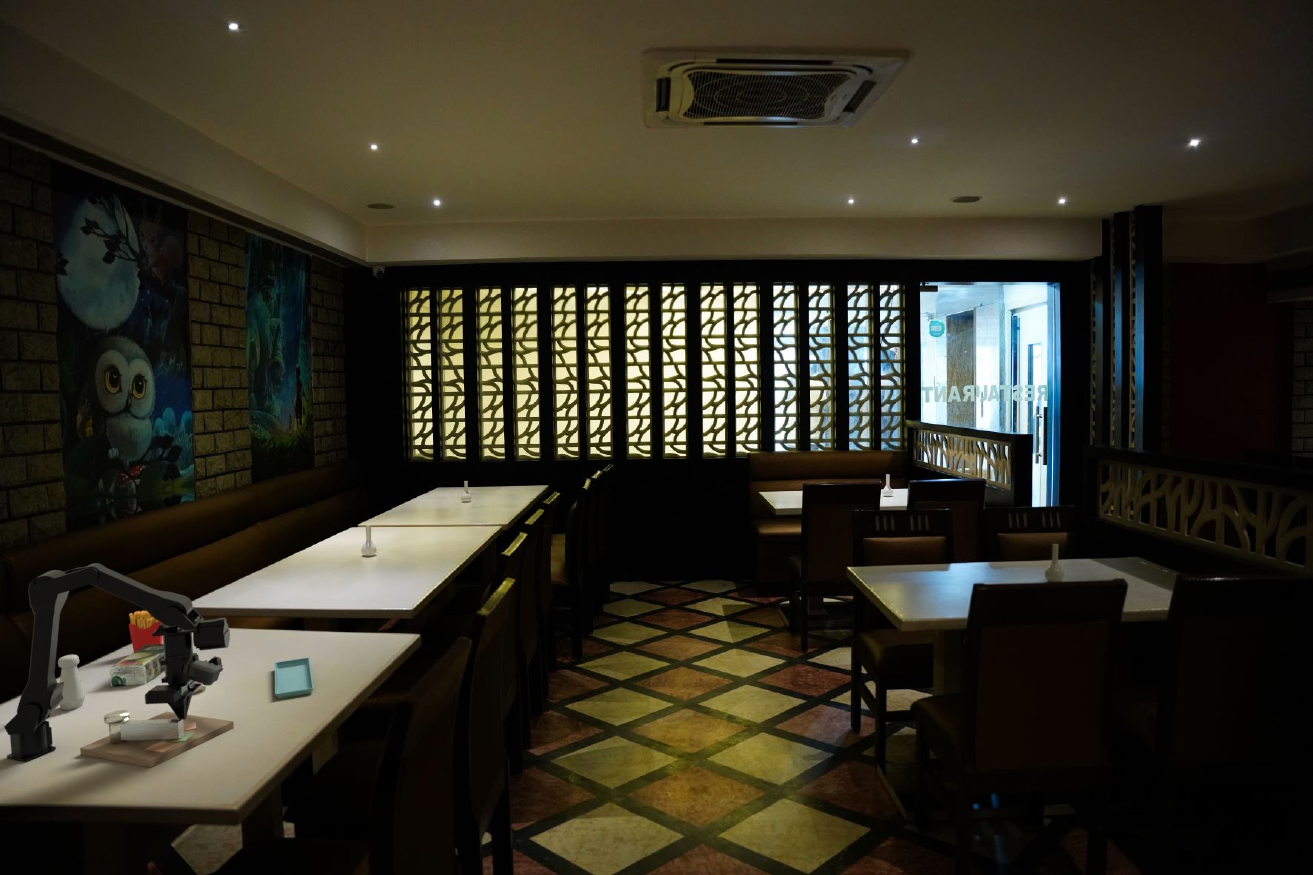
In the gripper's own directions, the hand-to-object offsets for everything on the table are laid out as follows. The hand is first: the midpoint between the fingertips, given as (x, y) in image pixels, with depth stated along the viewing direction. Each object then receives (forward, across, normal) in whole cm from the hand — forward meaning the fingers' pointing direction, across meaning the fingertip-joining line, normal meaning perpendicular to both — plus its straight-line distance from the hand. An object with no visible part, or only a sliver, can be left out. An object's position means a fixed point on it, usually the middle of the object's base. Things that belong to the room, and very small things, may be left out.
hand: (182, 719), depth 190 cm
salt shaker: (+4, +21, +38) cm, 43 cm away
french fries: (+4, +64, +42) cm, 77 cm away
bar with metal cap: (+2, -6, +5) cm, 8 cm away
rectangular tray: (+4, +33, -12) cm, 36 cm away
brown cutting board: (+4, -3, +4) cm, 6 cm away
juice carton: (+4, +45, +33) cm, 56 cm away
